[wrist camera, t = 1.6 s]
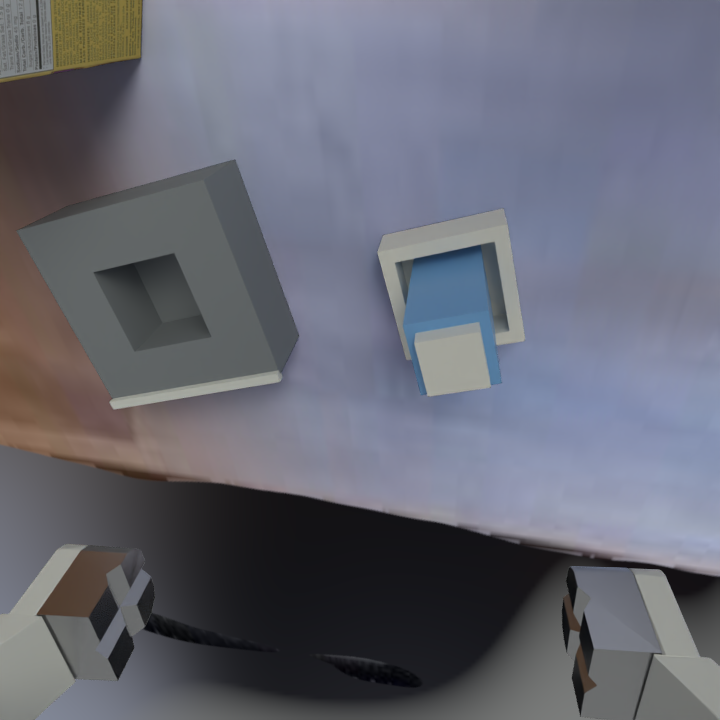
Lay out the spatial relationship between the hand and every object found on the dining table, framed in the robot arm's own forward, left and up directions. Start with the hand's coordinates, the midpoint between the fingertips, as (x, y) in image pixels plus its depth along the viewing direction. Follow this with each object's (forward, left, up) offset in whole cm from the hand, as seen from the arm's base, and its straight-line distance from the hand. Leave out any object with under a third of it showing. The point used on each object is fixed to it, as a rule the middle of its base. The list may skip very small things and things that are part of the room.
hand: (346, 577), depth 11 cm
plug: (-1, +5, -26) cm, 26 cm away
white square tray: (-1, +5, -27) cm, 27 cm away
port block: (+16, +1, -27) cm, 31 cm away
